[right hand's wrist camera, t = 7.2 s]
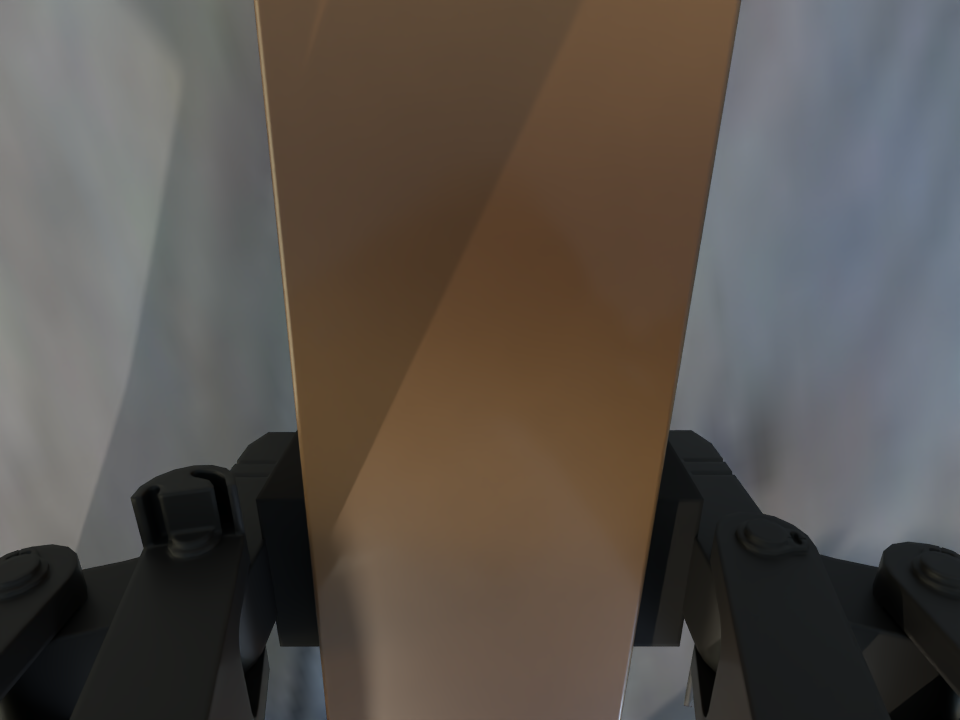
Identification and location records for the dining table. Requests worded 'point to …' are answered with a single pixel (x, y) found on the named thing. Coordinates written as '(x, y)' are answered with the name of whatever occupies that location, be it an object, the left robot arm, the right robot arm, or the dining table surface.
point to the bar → (486, 330)
